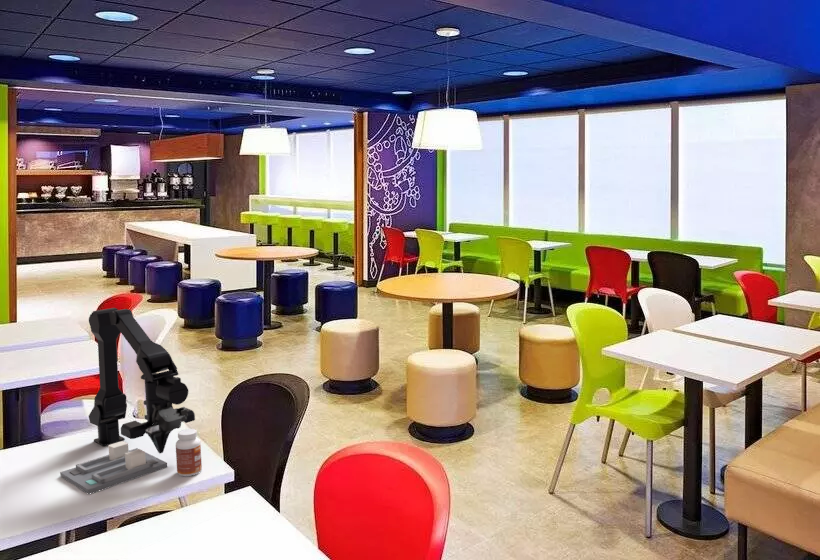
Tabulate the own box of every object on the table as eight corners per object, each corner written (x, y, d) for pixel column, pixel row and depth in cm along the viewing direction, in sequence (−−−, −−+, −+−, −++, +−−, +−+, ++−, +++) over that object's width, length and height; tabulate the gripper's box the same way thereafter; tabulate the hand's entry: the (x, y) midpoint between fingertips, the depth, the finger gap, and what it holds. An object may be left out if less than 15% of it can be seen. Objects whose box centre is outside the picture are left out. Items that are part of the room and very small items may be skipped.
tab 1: (109, 459, 187) (108, 445, 186) (123, 454, 190) (122, 440, 189) (114, 462, 185) (113, 447, 184) (129, 457, 188) (128, 443, 187)
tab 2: (125, 468, 181) (124, 453, 180) (140, 463, 184) (139, 448, 183) (131, 471, 179) (130, 456, 178) (146, 466, 182) (145, 451, 181)
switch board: (60, 476, 179) (59, 468, 179) (137, 452, 195) (136, 444, 194) (88, 494, 169) (88, 485, 168) (167, 467, 184) (166, 459, 184)
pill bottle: (199, 476, 178) (197, 435, 177) (175, 478, 178) (172, 436, 176) (203, 466, 184) (201, 426, 183) (179, 468, 184) (177, 428, 182)
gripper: (139, 412, 172) (143, 471, 174) (204, 394, 186) (207, 449, 188) (117, 403, 179) (121, 460, 181) (182, 386, 193) (185, 440, 195)
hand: (160, 452), depth 186 cm, fingers closed
